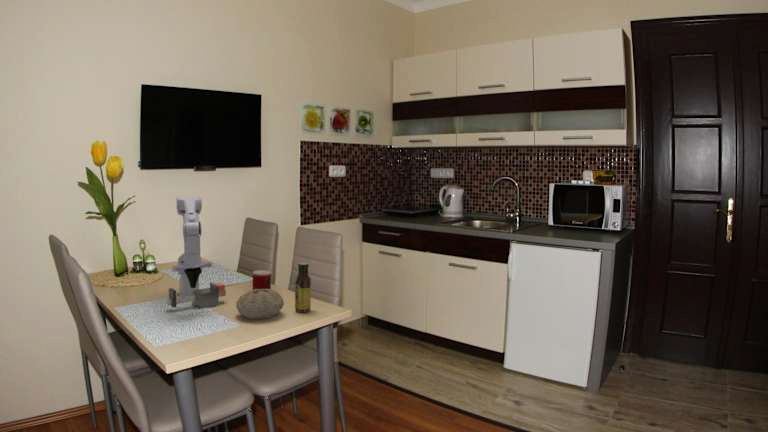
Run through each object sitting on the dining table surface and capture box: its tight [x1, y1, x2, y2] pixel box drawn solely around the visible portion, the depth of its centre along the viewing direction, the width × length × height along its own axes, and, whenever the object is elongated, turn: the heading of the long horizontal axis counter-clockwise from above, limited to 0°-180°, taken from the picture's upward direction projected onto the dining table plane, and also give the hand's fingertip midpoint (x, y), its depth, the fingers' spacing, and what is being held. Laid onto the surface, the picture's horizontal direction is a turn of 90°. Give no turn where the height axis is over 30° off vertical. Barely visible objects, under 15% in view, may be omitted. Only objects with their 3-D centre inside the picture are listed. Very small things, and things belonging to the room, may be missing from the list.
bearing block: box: [192, 282, 220, 310], centre depth 198 cm, size 7×8×8 cm
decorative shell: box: [235, 288, 285, 320], centre depth 187 cm, size 18×18×10 cm
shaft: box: [165, 287, 227, 308], centre depth 196 cm, size 5×23×6 cm, turn 131°
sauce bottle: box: [294, 261, 312, 314], centre depth 193 cm, size 7×6×20 cm
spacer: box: [215, 282, 226, 292], centre depth 202 cm, size 4×3×3 cm
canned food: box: [252, 269, 272, 290], centre depth 212 cm, size 8×8×11 cm
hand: (193, 287), depth 186 cm, fingers closed
